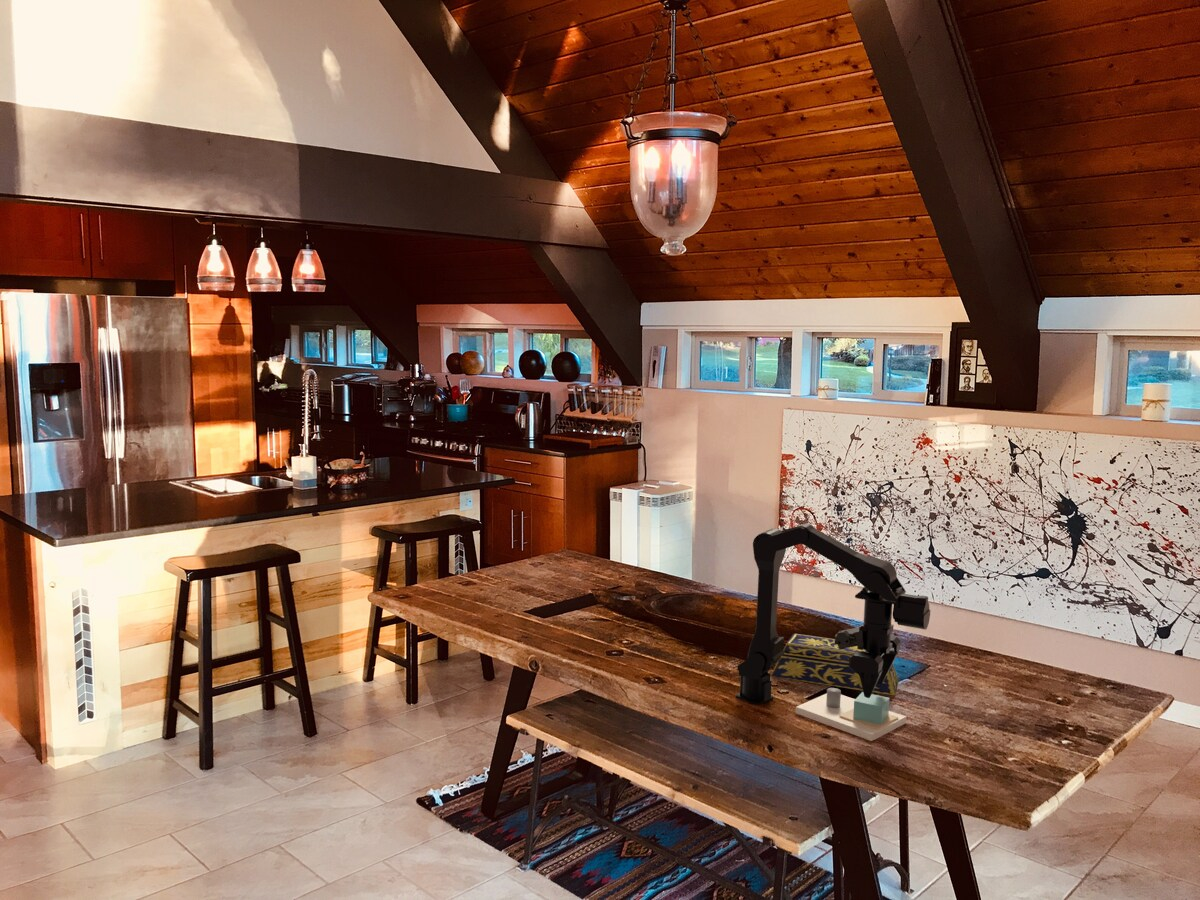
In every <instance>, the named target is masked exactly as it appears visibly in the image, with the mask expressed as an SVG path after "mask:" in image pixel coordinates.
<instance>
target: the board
mask: <svg viewBox="0 0 1200 900" xmlns="http://www.w3.org/2000/svg"><path fill="white" fill-rule="evenodd" d="M855 699H856V698H852V697H849V696H846V695H844V694H842V691H841V689H839V688H837V687H836V688H835V687H829V688H826V693H824V694H821V695H820V696H817V697H815V698H813V699H810V700H809V701H806V702H804V703H802V704H799V705H797V706H796V707H795V714H797V715H800V716H802V717H804V718H805V717H806V718H808V719H811V720H814V721H817V723H818V722H819V723H821V724H824V725H827V726H830V727H833V728H835V729H838V730H840V731H843V732H845V733H849V734H851V735H854V736H857V737H859V738H862V739H864V740H867V741H870V742H872V741H873V742H874V740H877V739H878V738H881V737H883V736H885V735H886V734H888V733H890V732H892V731H894V730H895V729H897V728H899V727H901V726H903V725H905V724H907V716H906V715H904V714H900V713H897V712H894V711H890V710H889V716H888V717H887V718H886V719H885V721H884V722H883V723H882V725H879V724H875V723H870V722H866V721H862V720H857V719H853V713H854V700H855Z"/></svg>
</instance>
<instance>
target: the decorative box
mask: <svg viewBox="0 0 1200 900" xmlns="http://www.w3.org/2000/svg"><path fill="white" fill-rule="evenodd" d="M834 642H835V638H831V637H823V636H817V635H816V636H815V635H810V634H802V633H792V635H791V636H790V638H789V639H788V641H787V642H786V643H785V646H783V650H784V654H783V655H782V656H781V658H780V660H779V661H778V662H777V663H776V664H774V668H773V670H772V671H771V673H770V674H771V678H772V677H773V678H779V679H785V680H786V679H787V680H794V681H799V682H807V683H810V684H811V683H812V684H818V685H824V686H832V687H836V688H845V689H849V690H850V689H851V690H856V691H857V690H858V691H863V688H862V684H861V680H860V677H859V674H858V673H857V672H856V671H853V670H852V669H851V668H850V667H849V658H850V657H851V656H852V655H854V654H855V653H856V652H857V651H862V652H866V651H865V650H859V649H857V646H855V647H849V648H845V649H842V650H840V649H839V647H838V645H836V644H835V643H834ZM899 681H900V680H899V677H898V673H897V671H896V669H895V665H894V663H893V664H892V666H891V668H890V670H889V671H888V673H887V675H886V677H885V679H884V681H883V683H882V684H881V685H880V684H876V686H875V688H874V690H873V692H872V693H876V694H882V695H883V694H884V695H888V696H889V695H890V696H895V697H896V696H897V691H898V686H899Z"/></svg>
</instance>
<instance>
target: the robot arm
mask: <svg viewBox="0 0 1200 900" xmlns="http://www.w3.org/2000/svg"><path fill="white" fill-rule="evenodd" d="M752 541H753V542H752V549H753V558H754V559H753V560H754V561H755V564H756V566H757V569H758V576H757V577H758V578H757V579H758V580H757V599H756V619H755V621H756V622H755V632H754V634H753V636H752V639H751V641H750V645H749V648H748V652H747V659H745V660H743V662H741V663H740V664H739V665H737V666H736V668H737V671H738V674H739V675H738V676H740V682H739V683H740V684H739V687H740V688H739V692H738V693H736V694H735V698H738V699H740V700H743V701H745V702H748V703H752V704H754V705H760V704H763V703H765V702H767V701H770V700H772V699H774V698H775V696H774V695H773V694H772V680H771V678H772V676H771V674H772V673H769V672H768V671H770V670H772V669H773V667H774V666H775V665H776V663H777V662H778V661H779V660H780V658H781V656H782V655H783V654H784V650H783V649H784V644H785V637H784V636H779V634H778V631H777V615H778V613H777V612H778V594H779V580H780V579H779V577H780V576H779V575H780V574H779V573H780V568H781V566H782V563H783V560H784V558H785V555H786V551H787V549H788V548H791V547H794V546H798V545H803V546H805V547H807V548H808V549H810V550H812V551H814V552H815V553H816V554H819V555H820V556H822V557H824V558H825V559H827V560H829V561H831V562H833V563H835V565H838V566H839V567H841V568H843V569H845V570H847V572H848V573H850V574H851V575H852V576H853V577H854V578H855V580H856V581H857V582H858V583H859V584H861V585H862V586H863V587H862V589H861V590H860V591H859V592H858V593H856V594H855V595H854V598H855V599H859V600H864V608H863V609H864V610H863V621H862V622H863V623H862V624H861V625H860V626H858V627H853V628H848V629H843V630H839V631H838V632H837V633H836V634H835V635H834V639H835V642H834V643H835V644H836V645H838V647H839V649H840V650H842V649H845V648H849V647H855V646H857V649H859V650H865V651H866V652H862V651H857V652H856V653H855V654H854V655H852V656H851V657H850V658H849V667H850V668H851V669H852V670H853V671H856V672H857V673H858V674H859V677H860V680H861V684H862V688H863V690H862V692H863V693H864V696H865V697H866V698H870V697H871V694H873V693H874V692H873V690H874V688H875V686H876V684H880V685H881V684H882V683H883V681H884V679H885V677H886V675H887V673H888V671H889V670H890V668H891V666H892V664H893V665H894V662H895V660H896V658H897V656H898V655H899V651H900V650H901V645H902V641H901V640H900V638H898V636H896V635H895V636H894V635H892V634H891V633H892V631H893V630H894V626H895V625H894V624H892V619H893V620H894V622H895V623H896V624H897V625H898V626H903V627H909V628H913V629H918V630H919V629H921V630H927V629H928V626H929V622H930V618H931V609H930V603H929V597H928V596H927V595H914V594H909V593H908V594H907V591H906V589H905V587H904V586H903V585H902V583H901V582H900V580H899V578H898V577H897V570H896V567H895V566H894V565H893V564H892V563H891V562H889V561H886V560H884V559H881V558H879V557H875V556H872V555H871V556H870V555H866V554H863V553H860V552H858V551H856V550H854V549H852V547H849V546H848V545H846V544H844V543H842V542H840V541H838V540H837V539H835V538H833V537H831V536H830V535H828V534H826V533H824V532H823V531H821V530H819V529H817V528H815V527H814V526H813V525H812V524H810V523H803V524H800V525H798V526H797V525H796V526H793V527H789V528H786V529H782V530H780V529H778V528H770V529H768V530H766V531H763V532H761V533H759V534H757V535H756V536H755V537H754V538H753V540H752Z"/></svg>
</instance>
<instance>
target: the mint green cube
mask: <svg viewBox="0 0 1200 900" xmlns="http://www.w3.org/2000/svg"><path fill="white" fill-rule="evenodd" d="M854 699H855V700H854V713H853V719H857V720H862V721H866V722H870V723H875V724H879V725H882V723H883V722H884V721H885V719H886V718H887V717H888V716H889V711H890V697H886V696H883V695H878V694H877V695H876V694H874V693H872V694H871V697H870V698H866V697H865V696H864V693H863V691H861V693H859V695H858V696H857V697H856V698H854Z"/></svg>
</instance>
